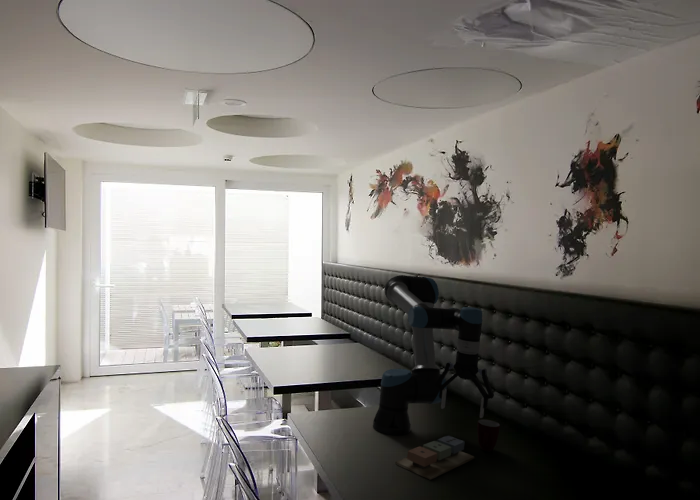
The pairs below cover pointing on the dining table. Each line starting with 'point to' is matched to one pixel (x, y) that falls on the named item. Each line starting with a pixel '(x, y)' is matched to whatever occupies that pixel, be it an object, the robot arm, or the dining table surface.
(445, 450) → the tile
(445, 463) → the board
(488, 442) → the mug
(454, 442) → the tile
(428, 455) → the tile
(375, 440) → the dining table surface
